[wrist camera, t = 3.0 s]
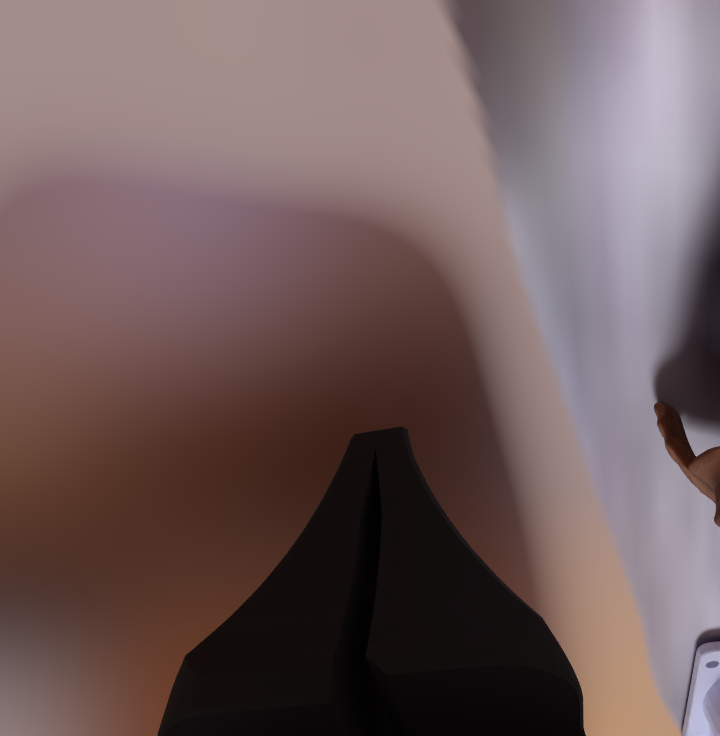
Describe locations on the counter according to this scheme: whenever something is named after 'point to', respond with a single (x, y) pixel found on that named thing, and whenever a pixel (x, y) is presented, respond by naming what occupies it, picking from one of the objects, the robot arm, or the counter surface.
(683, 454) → the pottery mug
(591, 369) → the counter surface
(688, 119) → the counter surface
